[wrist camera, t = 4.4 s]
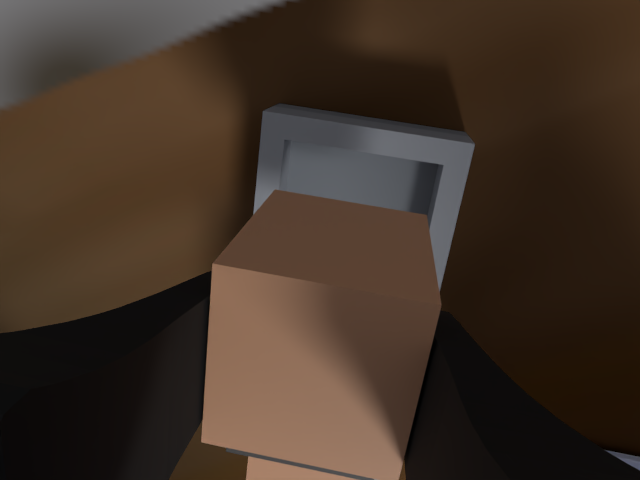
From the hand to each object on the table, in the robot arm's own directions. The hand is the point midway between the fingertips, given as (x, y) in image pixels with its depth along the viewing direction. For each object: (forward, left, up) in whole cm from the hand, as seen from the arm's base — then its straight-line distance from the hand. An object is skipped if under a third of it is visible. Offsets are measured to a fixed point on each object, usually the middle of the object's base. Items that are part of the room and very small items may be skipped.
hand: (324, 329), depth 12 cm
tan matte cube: (0, 0, -3) cm, 3 cm away
